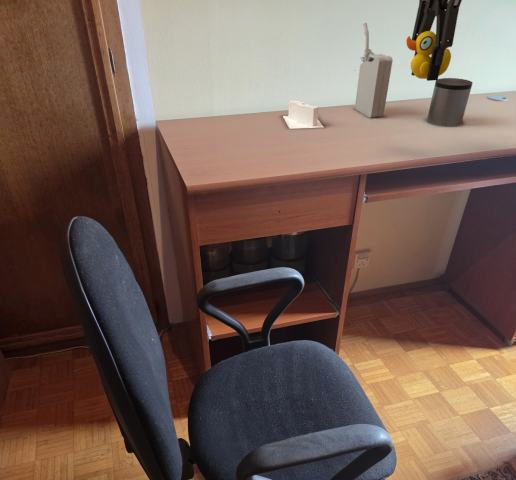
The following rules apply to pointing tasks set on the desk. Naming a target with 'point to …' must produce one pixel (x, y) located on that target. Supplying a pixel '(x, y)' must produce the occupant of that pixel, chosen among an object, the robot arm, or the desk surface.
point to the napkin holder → (302, 116)
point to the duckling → (425, 54)
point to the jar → (449, 101)
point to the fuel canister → (373, 82)
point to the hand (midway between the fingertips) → (424, 77)
